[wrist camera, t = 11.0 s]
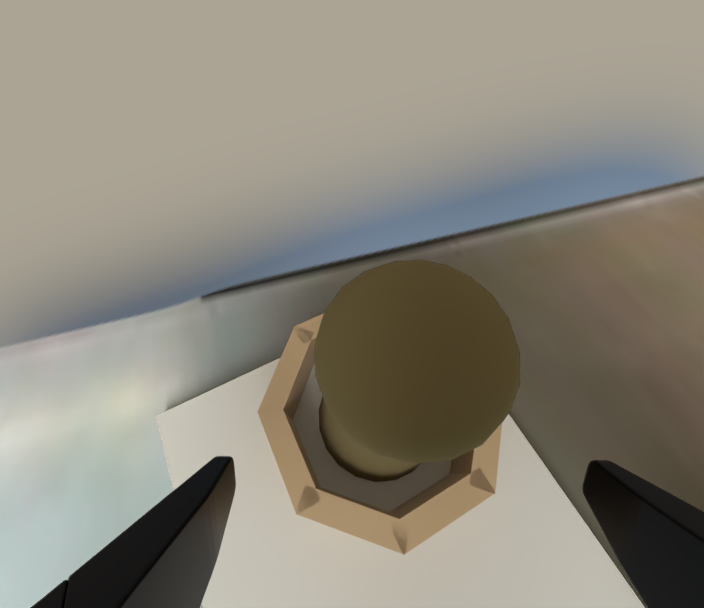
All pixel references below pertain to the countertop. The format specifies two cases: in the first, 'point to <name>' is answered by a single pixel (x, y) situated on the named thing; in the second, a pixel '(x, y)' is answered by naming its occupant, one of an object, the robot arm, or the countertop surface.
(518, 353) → the cork
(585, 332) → the countertop surface
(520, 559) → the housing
